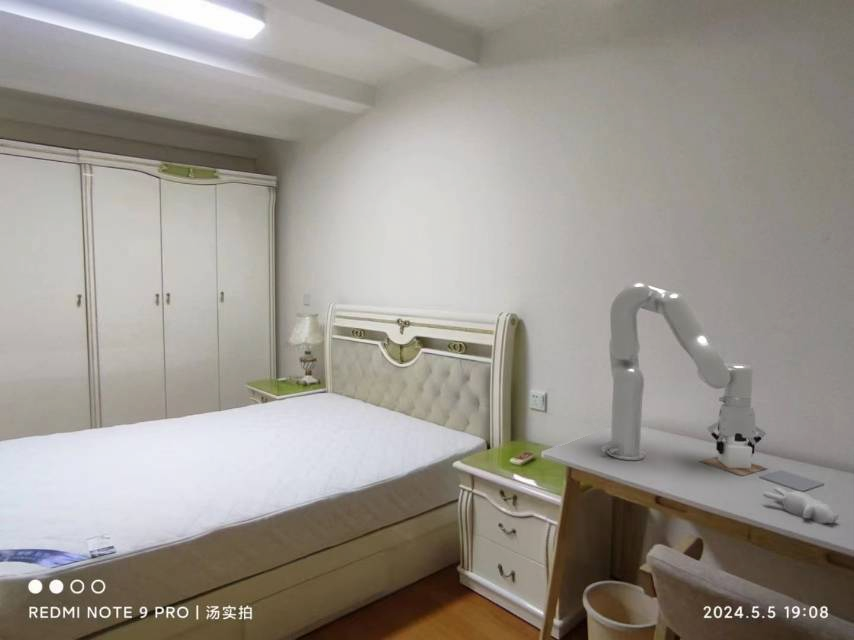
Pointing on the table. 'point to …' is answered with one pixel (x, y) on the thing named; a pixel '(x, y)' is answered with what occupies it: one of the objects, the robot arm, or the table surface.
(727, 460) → the medicine bottle
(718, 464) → the tile
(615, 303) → the robot arm
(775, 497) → the bunny figurine
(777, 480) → the grey mat
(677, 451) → the table surface
